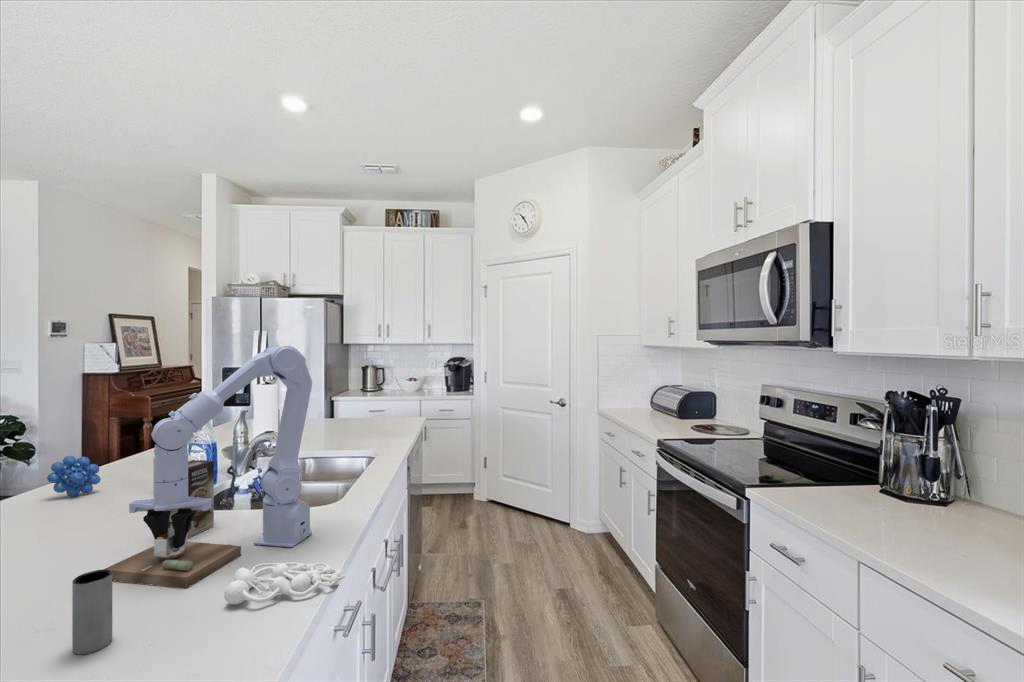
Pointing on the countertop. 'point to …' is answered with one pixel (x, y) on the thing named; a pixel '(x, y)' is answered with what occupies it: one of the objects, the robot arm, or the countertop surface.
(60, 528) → the countertop surface
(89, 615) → the planter
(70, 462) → the blue ball cluster
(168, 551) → the knob
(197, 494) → the coffee box
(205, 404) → the robot arm
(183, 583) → the base
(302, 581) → the tangled rod sculpture
